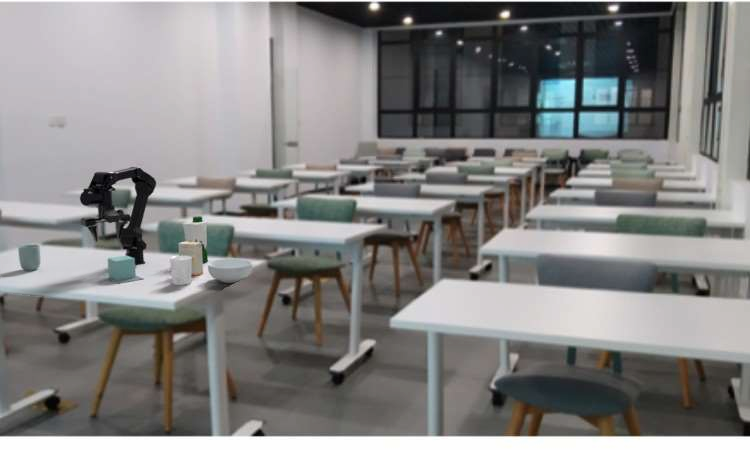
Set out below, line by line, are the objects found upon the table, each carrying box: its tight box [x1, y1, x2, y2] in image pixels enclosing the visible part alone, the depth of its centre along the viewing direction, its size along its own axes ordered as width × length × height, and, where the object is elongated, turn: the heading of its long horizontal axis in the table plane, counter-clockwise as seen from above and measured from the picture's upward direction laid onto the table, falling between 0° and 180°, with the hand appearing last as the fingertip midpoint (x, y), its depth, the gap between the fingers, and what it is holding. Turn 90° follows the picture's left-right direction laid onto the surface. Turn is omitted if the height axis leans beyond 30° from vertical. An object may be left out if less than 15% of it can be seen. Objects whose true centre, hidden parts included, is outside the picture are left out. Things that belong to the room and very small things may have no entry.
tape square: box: [107, 275, 144, 284], centre depth 258 cm, size 10×10×1 cm
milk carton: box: [181, 215, 209, 264], centre depth 286 cm, size 9×9×20 cm
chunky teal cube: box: [107, 255, 137, 280], centre depth 260 cm, size 8×8×8 cm
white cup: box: [169, 255, 192, 286], centre depth 251 cm, size 8×8×10 cm
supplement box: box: [178, 240, 204, 277], centre depth 266 cm, size 8×5×13 cm, turn 71°
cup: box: [17, 244, 42, 272], centre depth 273 cm, size 8×8×10 cm
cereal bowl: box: [207, 258, 253, 284], centre depth 256 cm, size 17×17×7 cm
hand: (107, 240), depth 270 cm, fingers open, 9 cm apart
